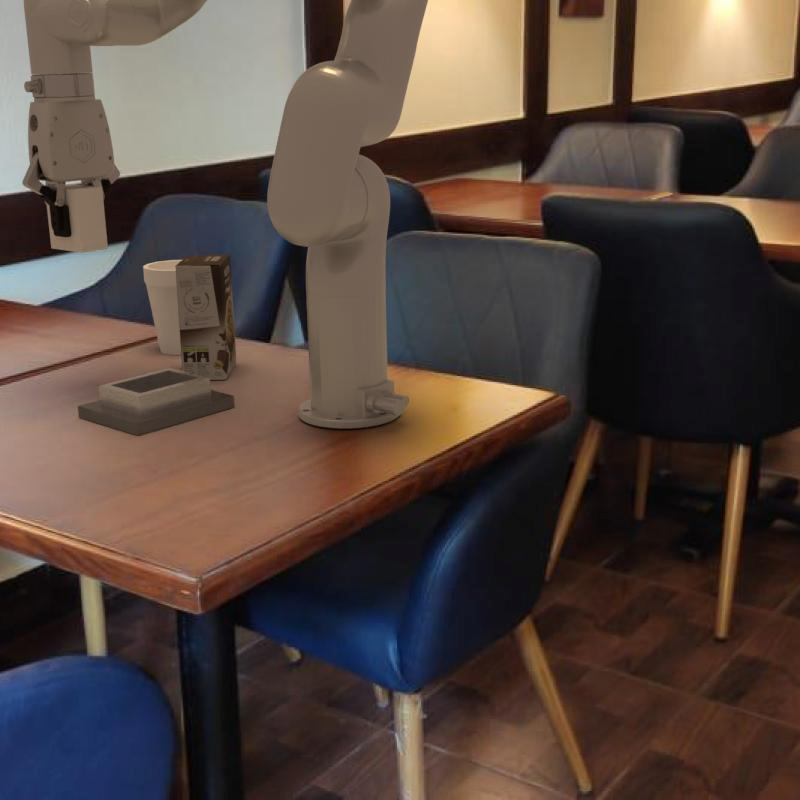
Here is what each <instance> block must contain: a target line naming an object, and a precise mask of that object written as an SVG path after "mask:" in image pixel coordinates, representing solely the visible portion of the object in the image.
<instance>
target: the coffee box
mask: <svg viewBox="0 0 800 800" xmlns="http://www.w3.org/2000/svg"><path fill="white" fill-rule="evenodd" d="M181 260H182V261H181V262H179V263H178V264H177V265H176V266H175V267H176V282H177V297H178V314H179V328H180V343H181V355H180V358H181V370H182V371H186V372H190V373H194V374H198V375H202V376H206V377H210V381H226V380H228V378H229V376H230V375H231V373H233V372H232V371H233V370H234V369H235V367H236V365H237V349H236V346H237V345H236V333H235V332H236V331H235V329H236V328H235V317H234V303H233V302H234V301H233V299H234V298H233V284H232V281H233V280H232V268H231V267H232V266H231V255H230V254H227V253H226V254H201V255H186V256H185V257H184V258H183V259H181Z"/></svg>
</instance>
